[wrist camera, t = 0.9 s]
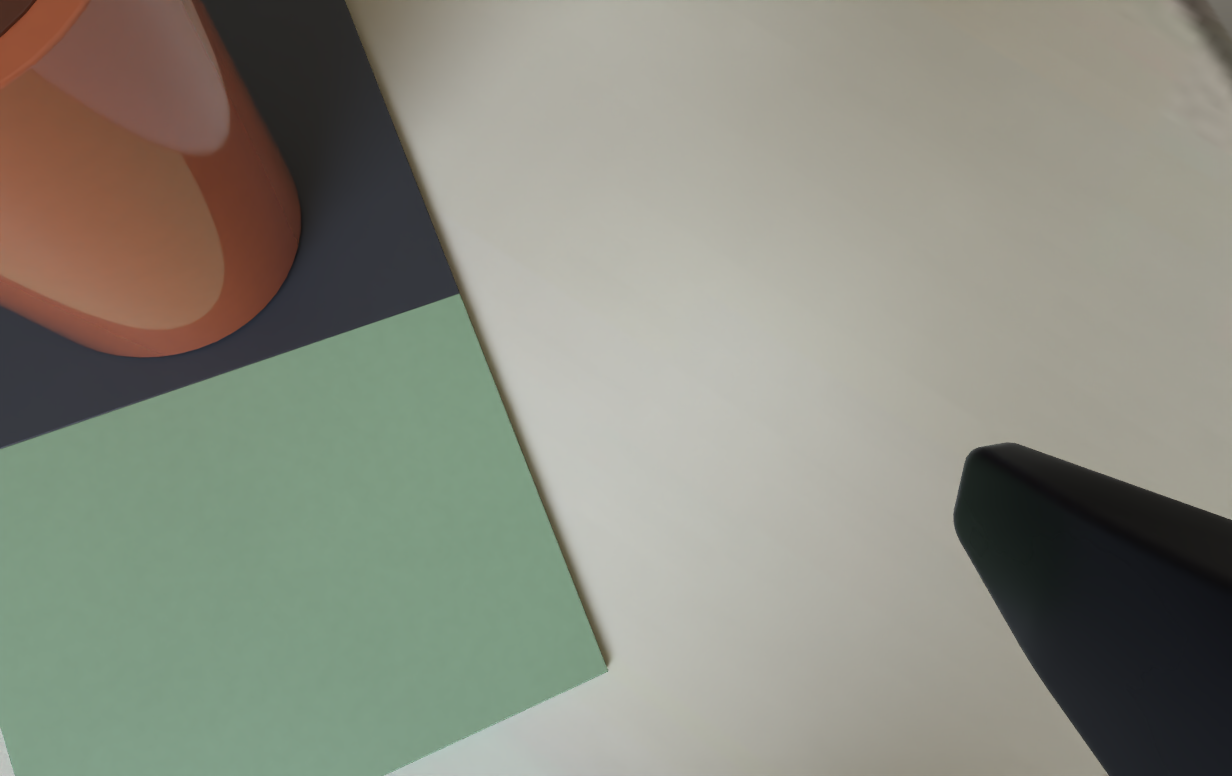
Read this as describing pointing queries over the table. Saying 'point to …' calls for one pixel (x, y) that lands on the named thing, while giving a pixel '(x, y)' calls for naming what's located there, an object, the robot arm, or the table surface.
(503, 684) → the desk mat
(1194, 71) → the table surface
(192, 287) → the tumbler
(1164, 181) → the table surface
